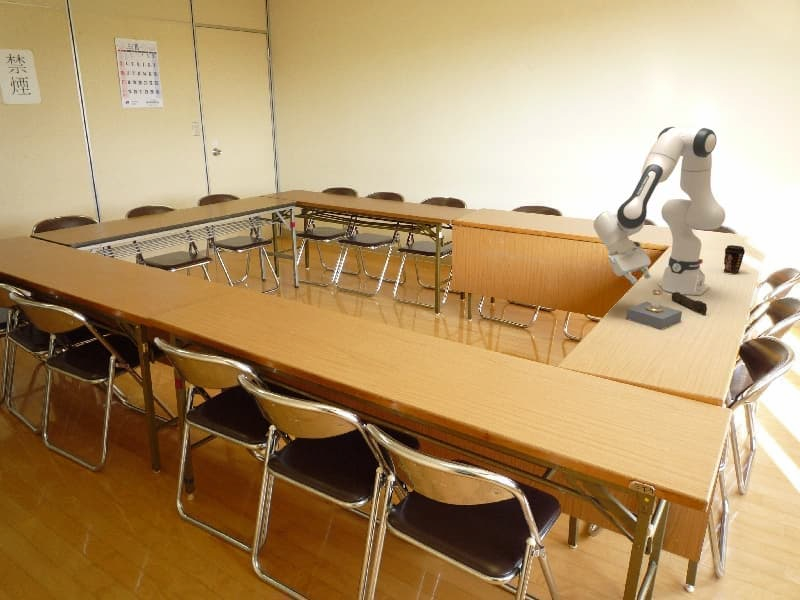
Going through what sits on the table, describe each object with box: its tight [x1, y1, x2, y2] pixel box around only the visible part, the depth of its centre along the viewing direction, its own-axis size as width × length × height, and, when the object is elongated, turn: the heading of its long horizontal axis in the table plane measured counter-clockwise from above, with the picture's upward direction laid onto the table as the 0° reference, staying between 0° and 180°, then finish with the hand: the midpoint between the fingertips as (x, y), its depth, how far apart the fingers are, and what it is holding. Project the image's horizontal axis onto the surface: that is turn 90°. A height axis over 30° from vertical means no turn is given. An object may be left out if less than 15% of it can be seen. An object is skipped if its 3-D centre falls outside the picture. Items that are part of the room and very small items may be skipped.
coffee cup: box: [723, 244, 745, 275], centre depth 282 cm, size 9×8×13 cm
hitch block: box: [625, 301, 683, 330], centre depth 219 cm, size 14×14×4 cm
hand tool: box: [671, 292, 708, 316], centre depth 234 cm, size 19×4×5 cm, turn 9°
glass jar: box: [647, 289, 663, 313], centre depth 218 cm, size 6×6×11 cm
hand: (642, 280), depth 221 cm, fingers open, 8 cm apart
